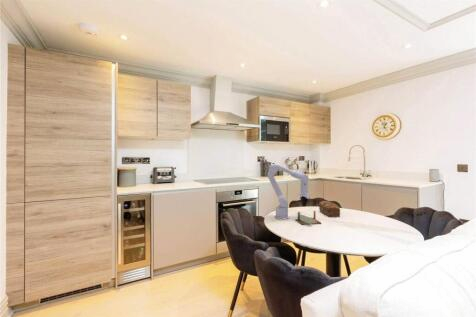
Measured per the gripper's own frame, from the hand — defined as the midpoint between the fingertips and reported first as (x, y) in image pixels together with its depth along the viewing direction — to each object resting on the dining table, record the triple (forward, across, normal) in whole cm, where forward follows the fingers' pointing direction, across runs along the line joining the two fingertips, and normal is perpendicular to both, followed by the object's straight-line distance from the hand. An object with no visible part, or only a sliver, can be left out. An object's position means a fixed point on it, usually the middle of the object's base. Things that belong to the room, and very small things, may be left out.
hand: (304, 206), depth 182 cm
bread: (+10, +6, -25) cm, 27 cm away
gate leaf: (+8, -16, +7) cm, 19 cm away
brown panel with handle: (+9, -11, +2) cm, 15 cm away
